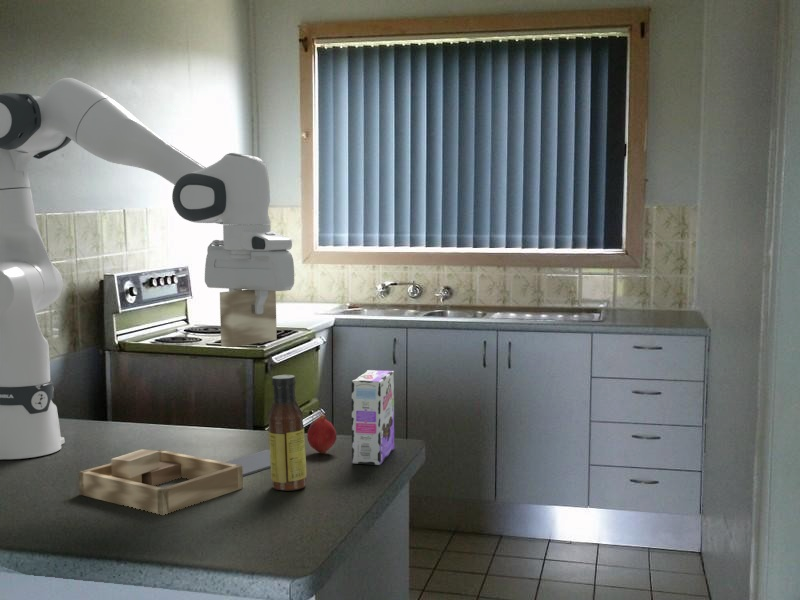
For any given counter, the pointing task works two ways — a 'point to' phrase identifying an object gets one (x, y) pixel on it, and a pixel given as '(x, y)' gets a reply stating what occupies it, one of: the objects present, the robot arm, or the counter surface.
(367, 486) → the counter surface
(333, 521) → the counter surface
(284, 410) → the sauce bottle
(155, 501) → the wooden tray
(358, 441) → the candy box
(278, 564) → the counter surface
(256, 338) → the pale wooden block
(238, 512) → the counter surface
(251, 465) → the felt pad
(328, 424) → the onion
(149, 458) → the offcut beech
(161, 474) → the offcut walnut
